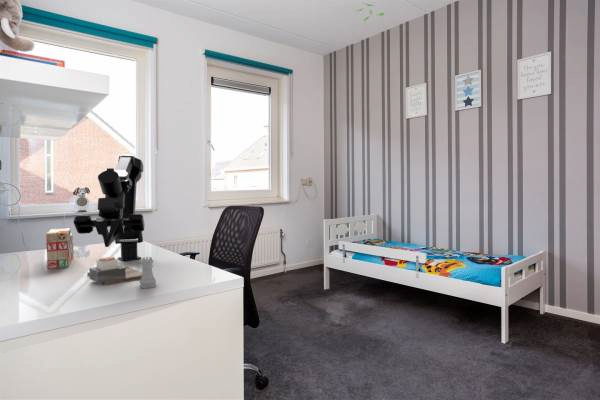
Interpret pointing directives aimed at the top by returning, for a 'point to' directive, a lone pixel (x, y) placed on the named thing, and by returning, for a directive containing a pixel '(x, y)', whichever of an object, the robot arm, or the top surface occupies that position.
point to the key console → (114, 275)
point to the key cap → (107, 263)
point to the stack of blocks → (59, 248)
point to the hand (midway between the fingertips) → (106, 246)
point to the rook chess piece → (147, 274)
